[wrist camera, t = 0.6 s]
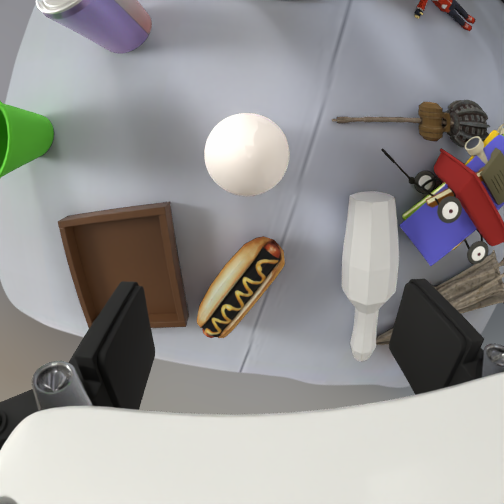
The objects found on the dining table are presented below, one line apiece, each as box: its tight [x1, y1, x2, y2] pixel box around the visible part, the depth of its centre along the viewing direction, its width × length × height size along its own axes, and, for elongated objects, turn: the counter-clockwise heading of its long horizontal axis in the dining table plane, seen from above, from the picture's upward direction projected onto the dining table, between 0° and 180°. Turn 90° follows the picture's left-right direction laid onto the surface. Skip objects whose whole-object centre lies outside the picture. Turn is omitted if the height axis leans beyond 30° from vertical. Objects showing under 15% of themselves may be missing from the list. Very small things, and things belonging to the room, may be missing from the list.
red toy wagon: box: [381, 124, 504, 266], centre depth 28 cm, size 17×9×20 cm
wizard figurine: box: [376, 250, 504, 345], centre depth 38 cm, size 10×8×25 cm
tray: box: [58, 202, 189, 328], centre depth 35 cm, size 15×14×3 cm
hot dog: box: [197, 236, 285, 338], centre depth 35 cm, size 5×13×5 cm, turn 145°
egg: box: [204, 113, 290, 196], centre depth 26 cm, size 7×7×12 cm
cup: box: [0, 101, 54, 178], centre depth 24 cm, size 9×9×11 cm
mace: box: [332, 100, 490, 148], centre depth 29 cm, size 6×6×20 cm
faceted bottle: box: [342, 191, 399, 362], centre depth 35 cm, size 6×6×22 cm
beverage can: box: [36, 0, 152, 53], centre depth 19 cm, size 6×6×15 cm
